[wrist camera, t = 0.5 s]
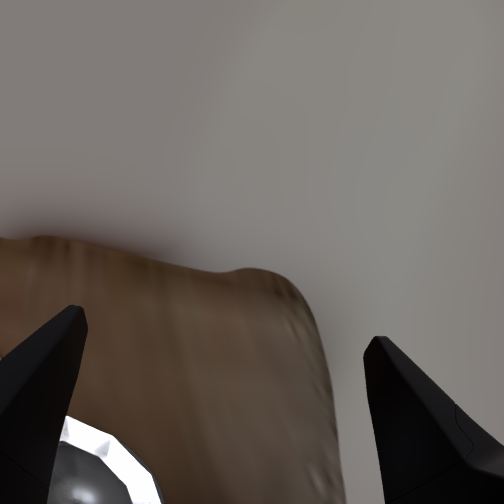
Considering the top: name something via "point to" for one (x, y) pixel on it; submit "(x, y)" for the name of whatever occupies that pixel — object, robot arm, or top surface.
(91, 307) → the top surface
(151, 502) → the canister
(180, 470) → the top surface
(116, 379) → the top surface
